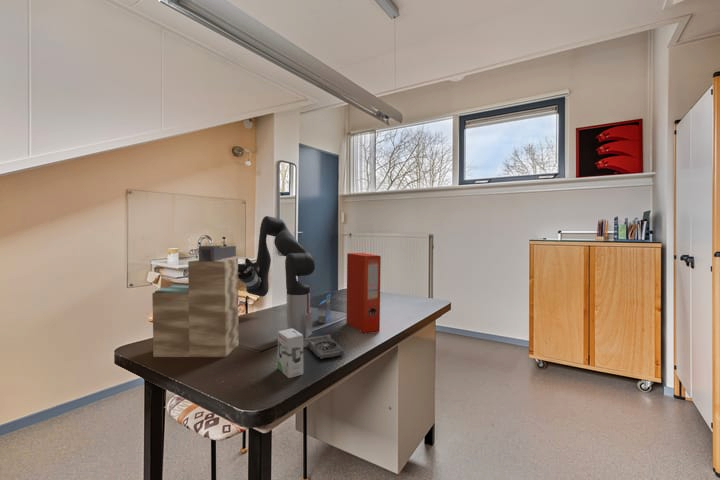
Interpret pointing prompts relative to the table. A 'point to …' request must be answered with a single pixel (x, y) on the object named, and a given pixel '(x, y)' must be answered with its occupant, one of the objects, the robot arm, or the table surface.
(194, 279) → the stand
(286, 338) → the ink box
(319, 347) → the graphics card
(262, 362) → the table surface
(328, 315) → the label tape cartridge
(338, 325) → the table surface
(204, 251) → the plug bar
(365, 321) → the file binder
